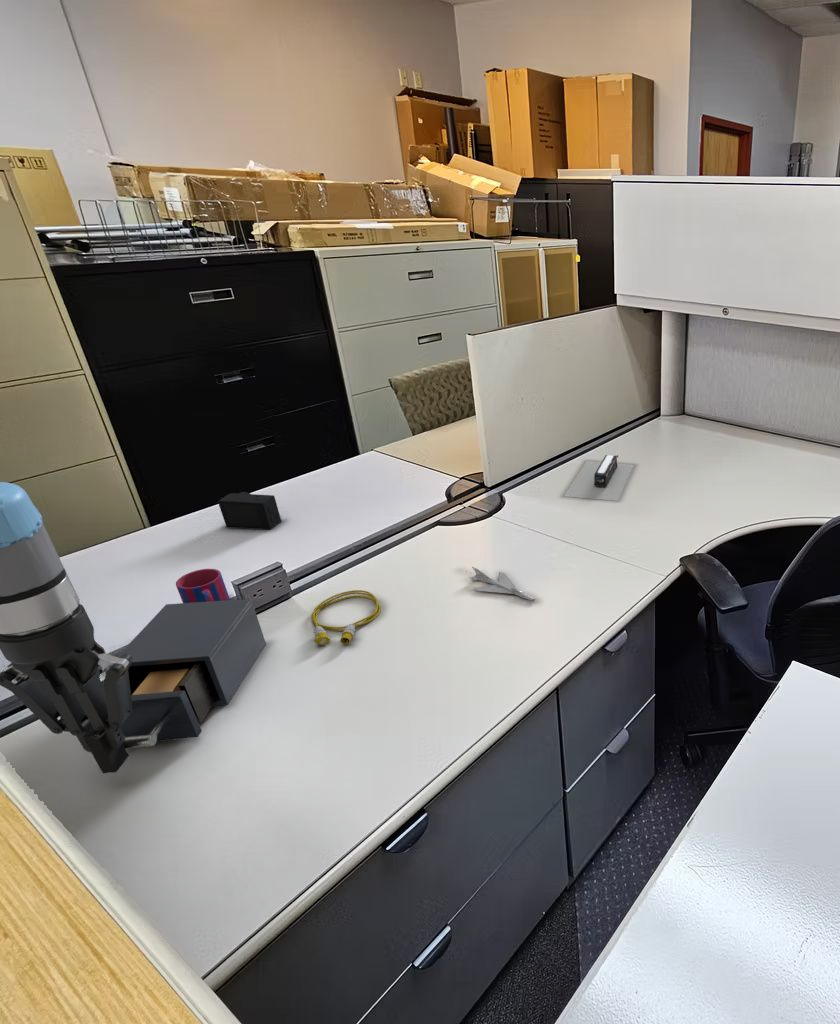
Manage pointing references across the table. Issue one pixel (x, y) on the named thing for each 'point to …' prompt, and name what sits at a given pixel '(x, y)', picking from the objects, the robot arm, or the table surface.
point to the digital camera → (249, 511)
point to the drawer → (168, 705)
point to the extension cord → (348, 630)
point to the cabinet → (203, 641)
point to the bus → (600, 479)
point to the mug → (202, 586)
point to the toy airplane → (499, 585)
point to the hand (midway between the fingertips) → (116, 764)
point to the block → (162, 681)
